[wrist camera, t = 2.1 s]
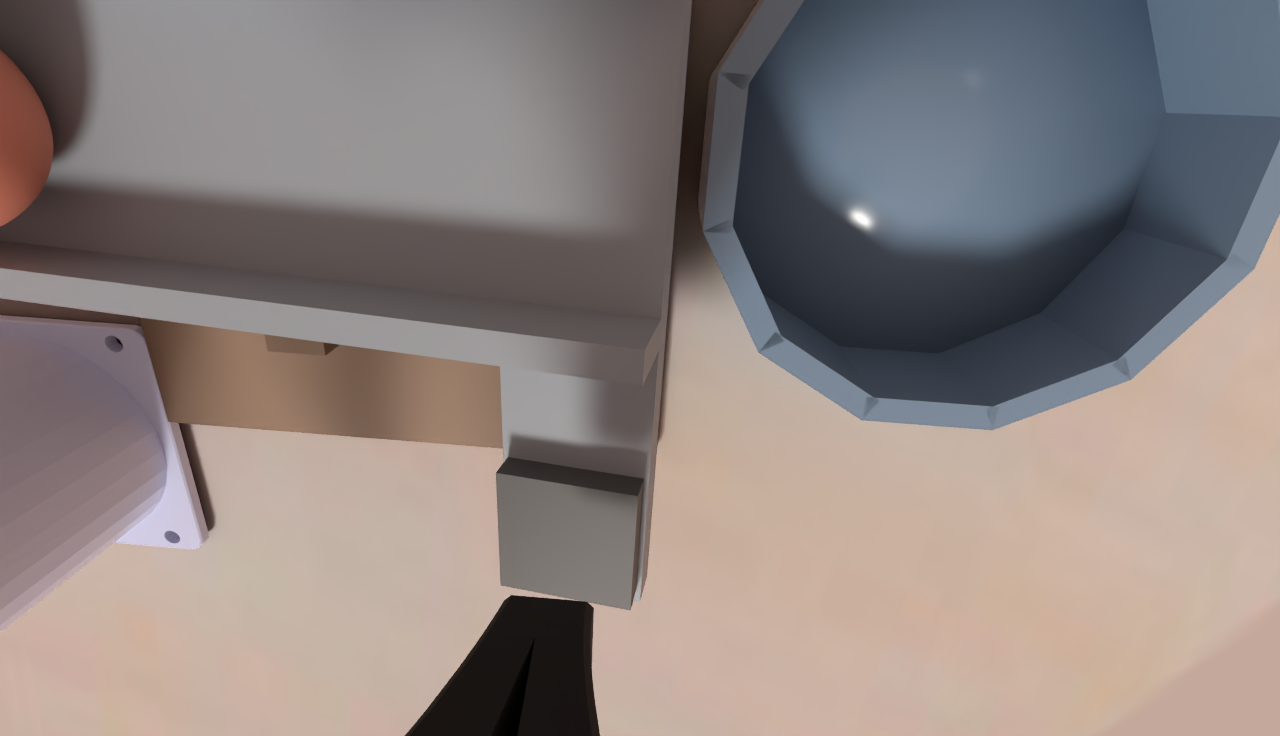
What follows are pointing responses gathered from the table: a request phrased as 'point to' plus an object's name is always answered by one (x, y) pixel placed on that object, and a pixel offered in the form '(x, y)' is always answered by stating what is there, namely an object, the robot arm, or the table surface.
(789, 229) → the bowl
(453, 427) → the catapult base
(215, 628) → the table surface
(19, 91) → the ball
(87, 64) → the lever
